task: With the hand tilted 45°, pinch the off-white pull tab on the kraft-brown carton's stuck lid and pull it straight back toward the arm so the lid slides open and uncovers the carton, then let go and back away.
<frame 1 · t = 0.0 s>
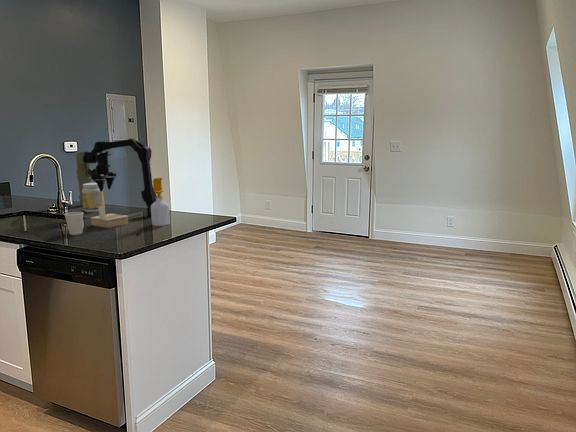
hand: (105, 190, 254), 15 cm above the table, fingers open, 9 cm apart
dixie cup: (76, 233, 211), on the table
supplement tub: (94, 211, 272), on the table
carton: (110, 224, 230), on the table
green cactus: (87, 205, 292), on the table
soap bottle: (161, 224, 230), on the table
carton lid: (108, 211, 229), point 7 cm above the table, slide at 0.0 cm
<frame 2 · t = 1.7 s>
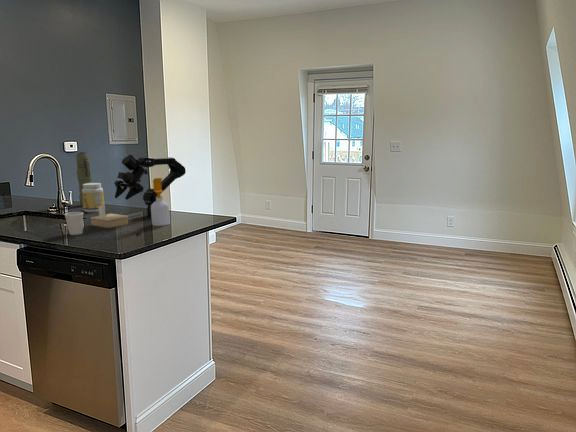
hand: (120, 198, 234), 13 cm above the table, fingers open, 9 cm apart
nothing on the table moved.
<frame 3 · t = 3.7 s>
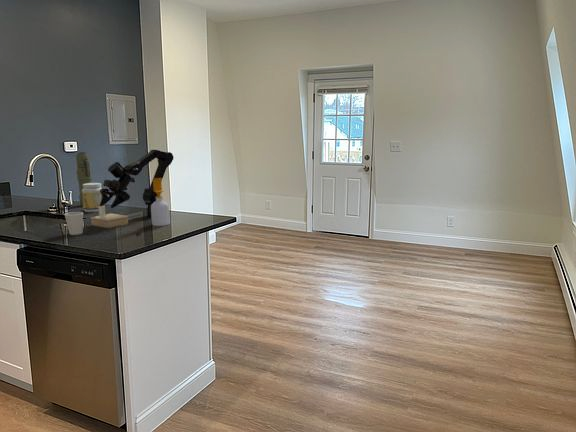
hand: (105, 206, 227), 10 cm above the table, fingers open, 9 cm apart
nothing on the table moved.
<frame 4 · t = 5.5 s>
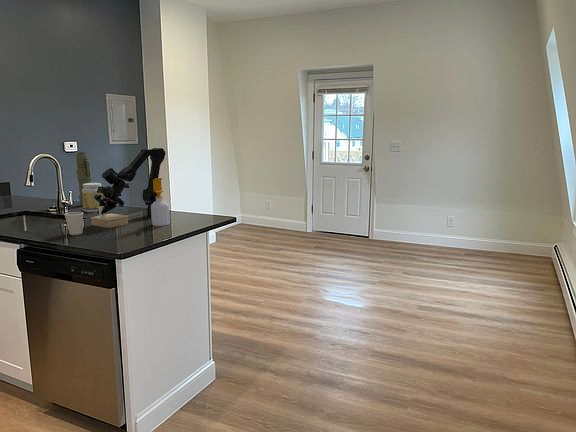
hand: (99, 213, 224), 7 cm above the table, fingers closed on carton lid, 2 cm apart
carton lid: (108, 211, 229), point 7 cm above the table, slide at 0.0 cm, touching gripper
everything else where it was.
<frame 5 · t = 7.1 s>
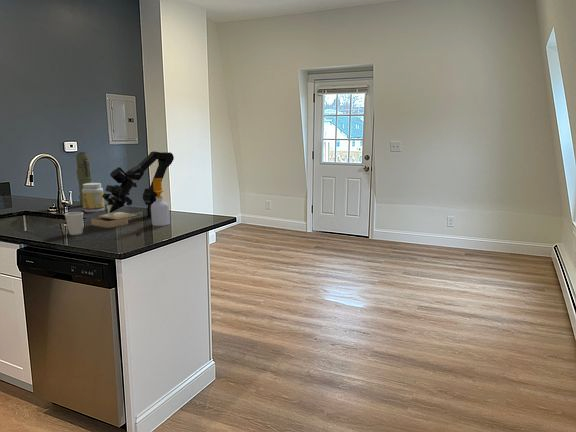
hand: (108, 212, 228), 7 cm above the table, fingers closed on carton lid, 2 cm apart
carton lid: (117, 210, 233), point 7 cm above the table, slide at 5.0 cm, touching gripper
everything else where it was.
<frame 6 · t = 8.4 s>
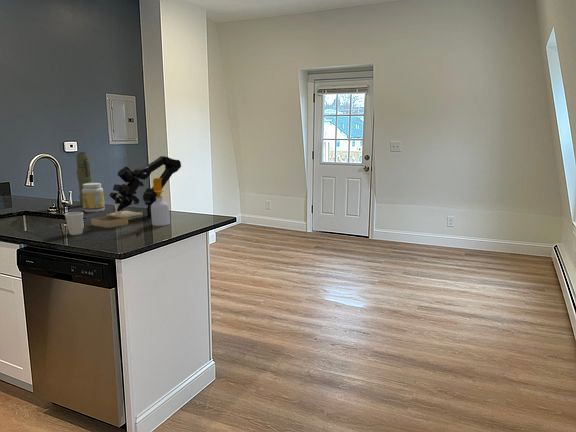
hand: (115, 210, 232), 7 cm above the table, fingers closed on carton lid, 2 cm apart
carton lid: (124, 208, 236), point 7 cm above the table, slide at 9.5 cm, touching gripper
everything else where it was.
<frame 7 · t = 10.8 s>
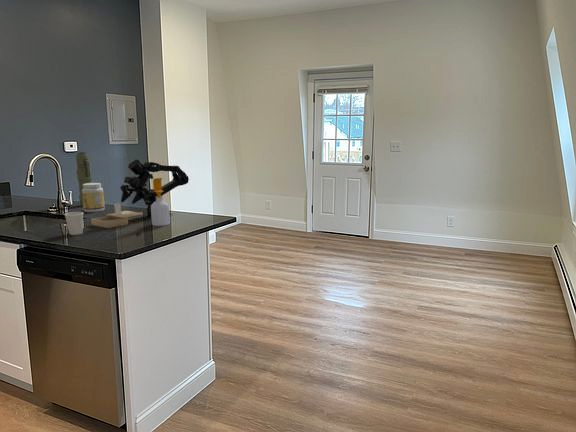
hand: (126, 202, 237), 10 cm above the table, fingers open, 9 cm apart
carton lid: (124, 208, 236), point 7 cm above the table, slide at 9.5 cm
everything else where it was.
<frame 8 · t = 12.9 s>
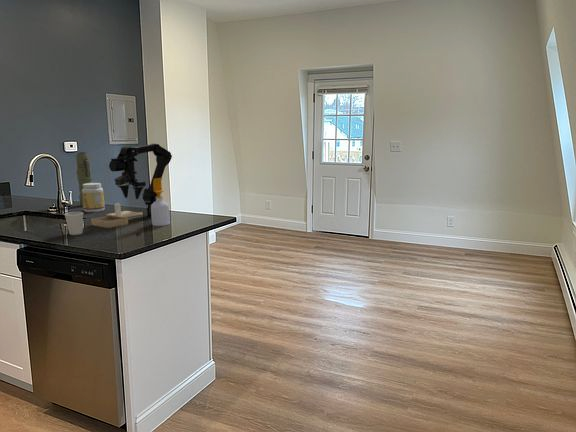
hand: (131, 198, 240), 12 cm above the table, fingers open, 9 cm apart
nothing on the table moved.
at the end: carton lid slide at 9.5 cm; the gripper is holding nothing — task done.
